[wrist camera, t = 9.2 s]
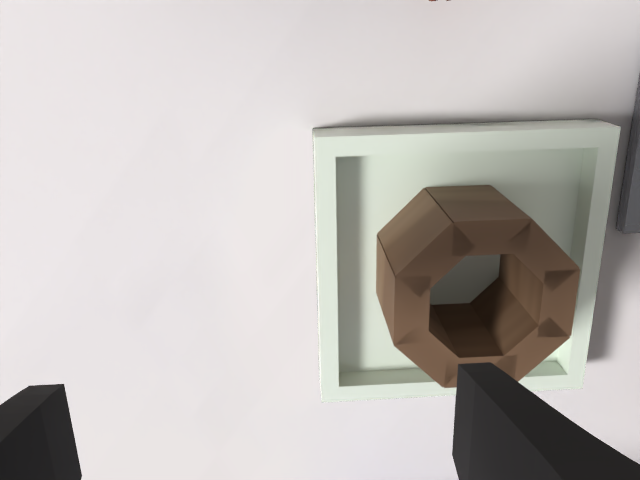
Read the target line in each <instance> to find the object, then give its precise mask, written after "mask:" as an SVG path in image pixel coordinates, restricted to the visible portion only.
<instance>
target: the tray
mask: <svg viewBox="0 0 640 480" xmlns="http://www.w3.org/2000/svg"><path fill="white" fill-rule="evenodd" d="M620 129H621V127H619V126H616V125H613V124H610V123H607V122H604V121H601V120H598V119H583V120H553V121H522V122H492V123H462V124H432V125H402V126H371V127H341V128H313V164H314V200H315V237H316V274H317V311H318V347H319V380H320V390H321V400H322V403H323V402H342V401H361V400H379V399H398V398H417V397H435V396H454V395H456V388H457V387H456V388H444V387H441V386H440V385H439V384H438V383H437V382H436V381H434V380H433V379H432V378H431V377H430V376H429V375H427V374H426V373H425V372H424V371H423V370H422V369H420V368H419V367H418V366H417V365H416V364H415V363H413V362H412V361H411V360H410V359H409V358H407V357H406V356H405V355H404V354H403V353H402V352H400V351H399V350H398V349H397V348H396V347H395V346H394V345H393V342H392V339H391V336H390V333H389V330H388V327H387V324H386V321H385V318H384V315H383V312H382V309H381V306H380V303H379V300H378V297H377V294H376V244H377V235H378V234H377V233H378V232H379V231H380V230H381V229H382V228H383V227H384V226H385V225H386V224H387V223H388V222H389V221H390V220H391V219H392V218H393V217H394V216H395V215H396V214H397V213H398V212H399V211H400V210H401V209H402V208H404V207H405V206H406V205H407V204H408V203H409V202H410V201H411V200H412V199H413V198H414V197H415V196H416V195H417V194H418V193H419V192H420V191H421V190H422V189H423V188H424V189H425V187H443V186H470V185H491V186H493V187H494V188H495V189H496V190H497V191H499V192H500V193H501V194H502V195H504V196H505V197H506V198H507V199H508V200H510V201H511V202H512V203H513V204H515V205H516V206H517V207H518V208H520V209H521V210H522V211H523V212H524V213H526V214H527V215H528V216H529V217H531V218H532V219H533V220H534V221H535V222H536V223H537V224H538V225H539V226H540V227H541V228H542V229H543V230H544V231H545V232H546V234H547V235H548V236H549V237H550V238H551V239H552V240H553V241H554V242H555V243H556V244H557V245H558V246H559V247H560V248H561V249H562V250H563V251H564V252H565V253H566V254H567V255H568V256H569V257H570V258H571V259H572V260H573V261H574V262H575V263H576V264H577V265H578V267H579V269H580V275H579V283H578V290H577V297H576V305H575V312H574V319H573V327H572V334H571V336H569V337H570V338H569V339H568V340H567V341H566V342H564V343H563V344H562V345H561V346H560V347H559V348H557V349H556V350H555V351H554V352H553V353H551V354H550V355H549V356H548V357H547V358H546V359H544V360H543V361H542V362H541V363H540V364H538V365H537V366H536V367H535V368H534V369H533V370H531V371H530V372H529V373H528V374H527V375H525V376H524V377H523V378H522V379H521V380H520V381H518V382H519V383H520V384H522V385H523V386H524V387H526V388H527V389H528V390H530V391H547V390H566V389H582V388H583V381H584V374H585V368H586V361H587V354H588V347H589V340H590V333H591V327H592V320H593V313H594V306H595V299H596V293H597V286H598V279H599V272H600V265H601V259H602V252H603V245H604V238H605V231H606V225H607V218H608V211H609V204H610V197H611V191H612V184H613V177H614V170H615V163H616V156H617V150H618V143H619V136H620ZM499 265H500V254H499V255H475V256H465V257H464V258H463V259H462V260H461V261H460V262H459V263H458V264H457V265H455V266H454V267H453V268H452V269H451V270H450V271H449V272H448V273H447V274H446V275H445V276H444V277H442V278H441V279H440V280H439V281H438V282H437V283H436V284H435V285H434V286H433V287H432V288H431V289H430V304H431V305H436V304H458V303H470V302H471V301H472V300H474V299H475V298H476V297H477V296H478V295H479V294H480V293H481V292H482V291H483V290H485V289H486V288H487V287H488V286H489V285H490V284H491V283H492V282H493V281H495V280H496V279H497V278H498V277H499Z"/></svg>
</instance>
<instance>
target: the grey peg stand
mask: <svg viewBox="0 0 640 480" xmlns="http://www.w3.org/2000/svg"><path fill="white" fill-rule="evenodd" d="M616 229H618V230H619V231H621V232H622V233H640V75H639V82H638V88H637V95H636V101H635V108H634V114H633V121H632V128H631V134H630V141H629V147H628V154H627V160H626V167H625V173H624V180H623V186H622V193H621V199H620V206H619V213H618V219H617V226H616Z"/></svg>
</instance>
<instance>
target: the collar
mask: <svg viewBox="0 0 640 480" xmlns="http://www.w3.org/2000/svg"><path fill="white" fill-rule="evenodd" d="M377 234H378V235H377V244H376V294H377V297H378V300H379V303H380V306H381V309H382V312H383V315H384V318H385V321H386V324H387V327H388V330H389V333H390V336H391V339H392V342H393V345H394V346H395V347H396V348H397V349H398V350H399V351H400V352H402V353H403V354H404V355H405V356H406V357H407V358H409V359H410V360H411V361H412V362H413V363H415V364H416V365H417V366H418V367H419V368H420V369H422V370H423V371H424V372H425V373H426V374H427V375H429V376H430V377H431V378H432V379H433V380H434V381H436V382H437V383H438V384H439V385H440V386H441V387H444V388H456V387H457V372H458V364H465V363H485V362H491V363H492V364H494V365H495V366H497V367H498V368H500V369H501V370H503V371H504V372H505V373H507V374H508V375H509V376H511V377H512V378H513V379H515V380H516V381H520V380H521V379H522V378H523V377H524V376H525V375H527V374H528V373H529V372H530V371H531V370H533V369H534V368H535V367H536V366H537V365H538V364H540V363H541V362H542V361H543V360H544V359H546V358H547V357H548V356H549V355H550V354H551V353H553V352H554V351H555V350H556V349H557V348H559V347H560V346H561V345H562V344H563V343H564V342H566V341H567V340H568V339H569V338H570V337H569V336H571V334H572V327H573V319H574V312H575V305H576V297H577V290H578V283H579V275H580V269H579V267H578V265H577V264H576V263H575V262H574V261H573V260H572V259H571V258H570V257H569V256H568V255H567V254H566V253H565V252H564V251H563V250H562V249H561V248H560V247H559V246H558V245H557V244H556V243H555V242H554V241H553V240H552V239H551V238H550V237H549V236H548V235H547V234H546V232H545V231H544V230H543V229H542V228H541V227H540V226H539V225H538V224H537V223H536V222H535V221H534V220H533V219H532V218H531V217H529V216H528V215H527V214H526V213H524V212H523V211H522V210H521V209H520V208H518V207H517V206H516V205H515V204H513V203H512V202H511V201H510V200H508V199H507V198H506V197H505V196H504V195H502V194H501V193H500V192H499V191H497V190H496V189H495V188H494V187H493V186H491V185H470V186H443V187H425V189H424V188H423V189H422V190H421V191H420V192H419V193H418V194H417V195H416V196H415V197H414V198H413V199H412V200H411V201H410V202H409V203H408V204H407V205H406V206H405V207H404V208H402V209H401V210H400V211H399V212H398V213H397V214H396V215H395V216H394V217H393V218H392V219H391V220H390V221H389V222H388V223H387V224H386V225H385V226H384V227H383V228H382V229H381V230H380V231H379V232H378V233H377ZM499 254H500V265H499V277H498V278H497V279H496V280H495V281H493V282H492V283H491V284H490V285H489V286H488V287H487V288H486V289H485V290H483V291H482V292H481V293H480V294H479V295H478V296H477V297H476V298H475V299H474V300H472V301H471V302H470V303H458V304H436V305H431V304H430V289H431V288H432V287H433V286H434V285H435V284H436V283H437V282H438V281H439V280H440V279H441V278H442V277H444V276H445V275H446V274H447V273H448V272H449V271H450V270H451V269H452V268H453V267H454V266H455V265H457V264H458V263H459V262H460V261H461V260H462V259H463V258H464V257H465V256H475V255H499Z"/></svg>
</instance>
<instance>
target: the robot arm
mask: <svg viewBox="0 0 640 480" xmlns="http://www.w3.org/2000/svg"><path fill="white" fill-rule="evenodd" d="M452 455H453V459H454V463H455V466H456V470H457V474H458V478H459V480H640V464H638V463H636V462H635V461H633V460H631V459H629V458H628V457H626V456H624V455H623V454H621V453H620V452H618V451H617V450H615V449H613V448H612V447H610V446H609V445H607V444H606V443H604V442H602V441H601V440H599V439H598V438H596V437H594V436H593V435H591V434H590V433H589V432H587V431H586V430H584V429H583V428H581V427H580V426H578V425H577V424H575V423H574V422H572V421H571V420H569V419H568V418H567V417H565V416H564V415H562V414H561V413H560V412H558V411H557V410H555V409H554V408H553V407H551V406H550V405H548V404H547V403H546V402H544V401H543V400H542V399H540V398H539V397H538V396H536V395H535V394H534V393H532V392H531V391H530V390H528V389H527V388H526V387H524V386H523V385H522V384H520V383H519V382H518V381H516V380H515V379H513V378H512V377H511V376H509V375H508V374H507V373H505V372H504V371H503V370H501V369H500V368H498V367H497V366H495V365H494V364H492V363H491V362H485V363H465V364H458V372H457V388H456V404H455V420H454V435H453V451H452ZM81 477H82V474H81V469H80V464H79V459H78V454H77V448H76V443H75V438H74V433H73V428H72V423H71V418H70V413H69V408H68V403H67V398H66V392H65V387H64V384H56V385H36V386H29V387H27V388H25V389H24V390H22V391H20V392H19V393H17V394H16V395H14V396H13V397H11V398H10V399H8V400H7V401H5V402H4V403H3V404H1V405H0V480H81Z"/></svg>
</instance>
